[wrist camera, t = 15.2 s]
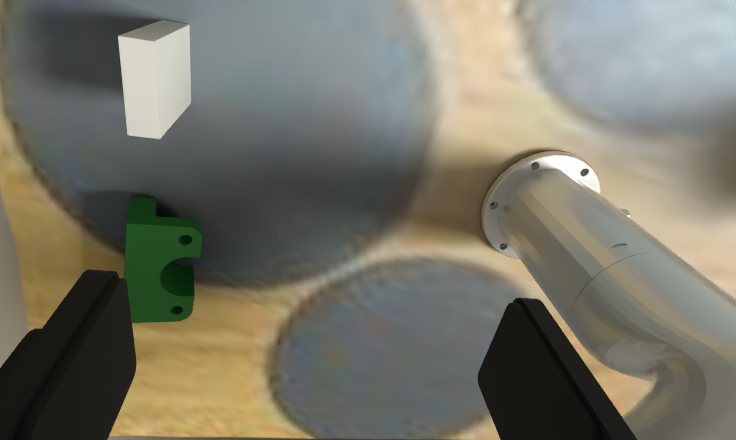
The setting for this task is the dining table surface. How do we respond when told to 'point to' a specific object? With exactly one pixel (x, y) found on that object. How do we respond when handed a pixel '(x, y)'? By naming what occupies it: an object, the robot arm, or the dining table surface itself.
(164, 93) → the white rectangular block
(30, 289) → the dining table surface
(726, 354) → the robot arm
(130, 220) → the clamp
